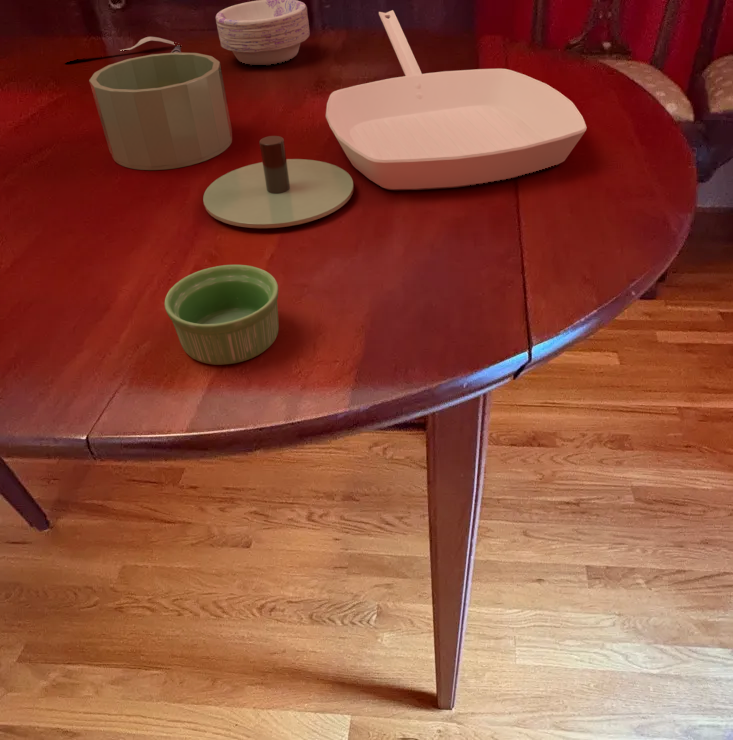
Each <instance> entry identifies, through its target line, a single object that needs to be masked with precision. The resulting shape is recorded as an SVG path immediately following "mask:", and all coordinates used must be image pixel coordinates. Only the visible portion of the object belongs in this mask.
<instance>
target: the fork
mask: <svg viewBox="0 0 733 740" xmlns="http://www.w3.org/2000/svg"><path fill="white" fill-rule="evenodd" d="M147 42H160V43H164V44H169V45H172V46H175V44H174V41H172V40H169V39H166V38H161V37H157V36H147V37H143V38H141V39H140V40H138V42H137V43H136V44H135V45H134V46H131V47H128V48H123V49H119V50H120V51H122V50H123V51H124V50H129V51H131V50H134V49H136V48H138V47H139V46H141V45H143V44H145V43H147Z"/></svg>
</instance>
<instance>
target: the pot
mask: <svg viewBox="0 0 733 740" xmlns="http://www.w3.org/2000/svg"><path fill="white" fill-rule="evenodd" d="M88 82H89V85H90V88H91V92H92V95H93V99H94V103H95V106H96V109H97V113H98V116H99V119H100V120H99V121H100V123H101V126H102V130H103V133H104V137H105V140H106V144H107V147H108V151H109V153H110V155H111V157H112V160H113V161H114V162H115V164H118V165H120V166H122V167H125V168H128V169H133V170H140V171H163V170H166V171H167V170H174V169H179V168H180V169H181V168H185V167H189V166H193V165H197V164H199V163H203V162H206V161H208V160H211V159H213V158H215V157H217V156H219V155H221V154H223V153H224V152H225V151H227V150H228V148H229V147H231V145H232V143H233V129H232V123H231V117H230V111H229V105H228V101H227V94H226V89H225V82H224V78H223V72H222V66H221V61H219V60H218V59H216V58H215V57H213V56H212V55H208V54H203V53H199V52H181V53H177V52H175V53H171V52H165V53H151V54H147V55H143V56H142V55H141V56H136V57H133V58H127V59H124V60H120V61H117V62H114V63H111V64H108V65H106V66H104V67H102V68H100V69H99V70H97V71H95V72H94V73H93V74H92V75H91V76H90V78H89V80H88Z"/></svg>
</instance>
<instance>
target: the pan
mask: <svg viewBox="0 0 733 740" xmlns="http://www.w3.org/2000/svg"><path fill="white" fill-rule="evenodd" d="M378 16H379V18H380V20H381V22H382V25H383V27H384V29H385V32H386V34H387V36H388V39H389V41H390V44H391V46H392V48H393V50H394V53H395V55H396V57H397V59H398V62H399V65H400V67H401V69H402V71H403V74H404V75H403V76H398V77H397V76H396V77H391V78H386V79H385V78H384V79H381V80H375V81H371V82H367V83H362V84H356V85H352V86H349V87H344V88H340V89H336V90H334V91H332V92H331V93H330V94H329V97H328V100H327V102H326V106H325V107H326V108H325V119H326V122H327V123H328V125H329V128H330V130H331V132H332V133H333V135H334V136H335V138H336V140H337V142H338V144H339V146H340V147H341V149H342V151H343V152H344V154H345V156H346V157H347V159H348V160H349V162H350V163H351V166H353V167H354V168H355V169H356V170H357V171H359V172H360V173H361V174H362V175H363V176H364V177H366V178H367V179H368V180H370V181H371V182H373V183H374V184H376V185H377V186H380V187H381V188H382V189H384V190H388V191H421V190H422V191H423V190H424V191H425V190H439V189H441V190H442V189H455V188H462V187H470V185H471V186H477V185H476V184H479V185H484V184H483V183H485V184H489V183H488V182H491V183H495V182H494V181H497V182H501V181H500V180H502V181H507V180H506V179H508V180H512V179H516V178H519V177H523V176H526V175H525V174H527V175H529V173H530V174H534V173H537V172H536V171H538V172H540V171H539V170H541V171H543V170H542V169H544V170H546V169H545V168H547V169H549V168H548V167H550V168H552V167H551V166H553V167H555V166H554V165H556V166H558V165H560V164H562V163H564V162H565V161H566V159H567V158H568V157H569V156H570V154H571V152H572V151H573V150H574V148H575V147H576V145H578V143H579V141H580V140H581V139H582V137H583V135H584V134H585V132H586V131H587V128H588V127H587V124H586V121H585V119H584V117H583V115H582V114H581V112H580V111H579V109H578V108H577V106H576V105H575V103H574V102H573V101H572V100H570V99H569V98H568V97H567V96H565V95H564V94H562V93H561V91H558V90H557V89H556V88H553V86H550V85H549V84H547V83H546V82H542V81H541V80H538V79H535V78H533V77H531V76H528V75H526V74H525V73H524V74H523V73H522V72H518V71H515V70H512V69H507V68H477V69H461V70H460V69H459V70H443V71H436V72H426V73H422V71H421V69H420V66H419V64H418V62H417V60H416V59H417V58H415V55H414V53H413V50H412V48H411V46H410V44H409V42H408V39H407V37H406V35H405V33H404V31H403V29H402V26H401V24H400V22H399V19H398V17H397V16H396V13H395V11H394V10H393V9H392V10H389V11H386V12H383V11H378ZM533 172H534V173H533ZM522 175H523V176H522ZM518 176H519V177H518ZM511 178H512V179H511Z"/></svg>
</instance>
